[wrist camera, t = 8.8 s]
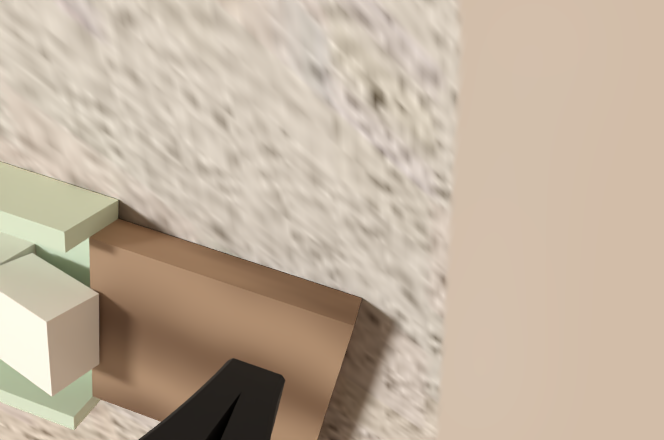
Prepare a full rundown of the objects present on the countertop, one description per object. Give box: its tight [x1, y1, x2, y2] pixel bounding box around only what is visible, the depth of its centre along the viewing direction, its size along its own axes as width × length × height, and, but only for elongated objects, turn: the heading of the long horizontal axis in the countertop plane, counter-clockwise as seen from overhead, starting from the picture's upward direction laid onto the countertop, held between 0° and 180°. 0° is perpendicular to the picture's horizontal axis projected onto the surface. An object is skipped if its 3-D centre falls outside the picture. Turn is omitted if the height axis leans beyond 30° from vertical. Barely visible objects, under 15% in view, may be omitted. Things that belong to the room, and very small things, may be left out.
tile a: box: [0, 253, 99, 396], centre depth 21 cm, size 4×4×2 cm
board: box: [89, 219, 362, 440], centre depth 22 cm, size 10×12×2 cm
